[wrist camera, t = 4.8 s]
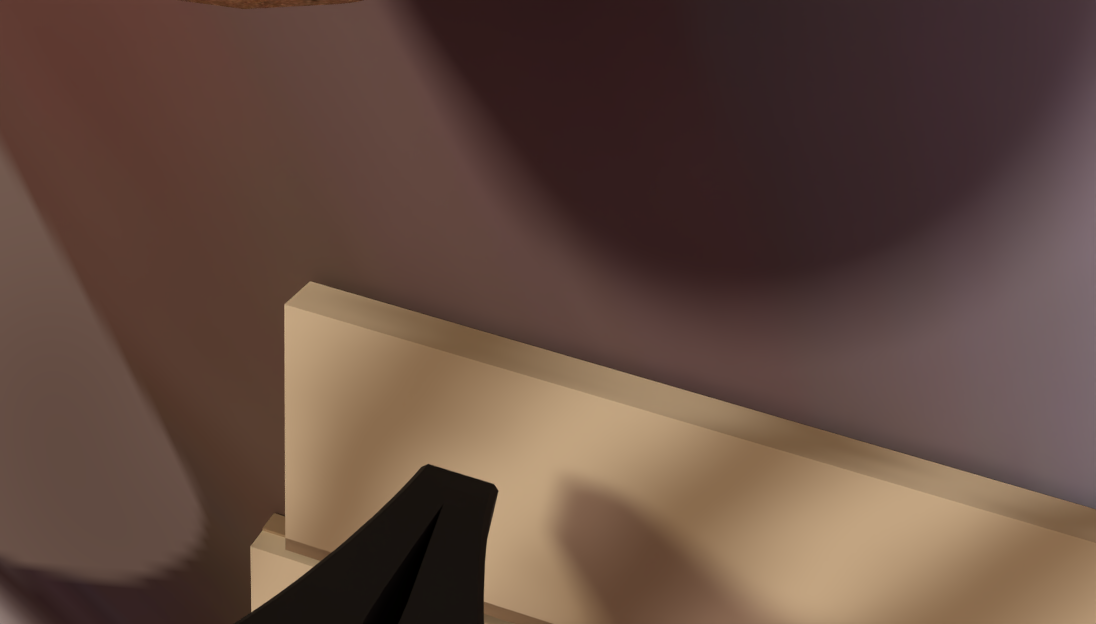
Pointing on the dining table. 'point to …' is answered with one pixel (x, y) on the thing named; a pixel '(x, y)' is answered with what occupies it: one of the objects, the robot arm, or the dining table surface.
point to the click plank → (653, 489)
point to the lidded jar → (269, 3)
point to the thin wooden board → (284, 565)
